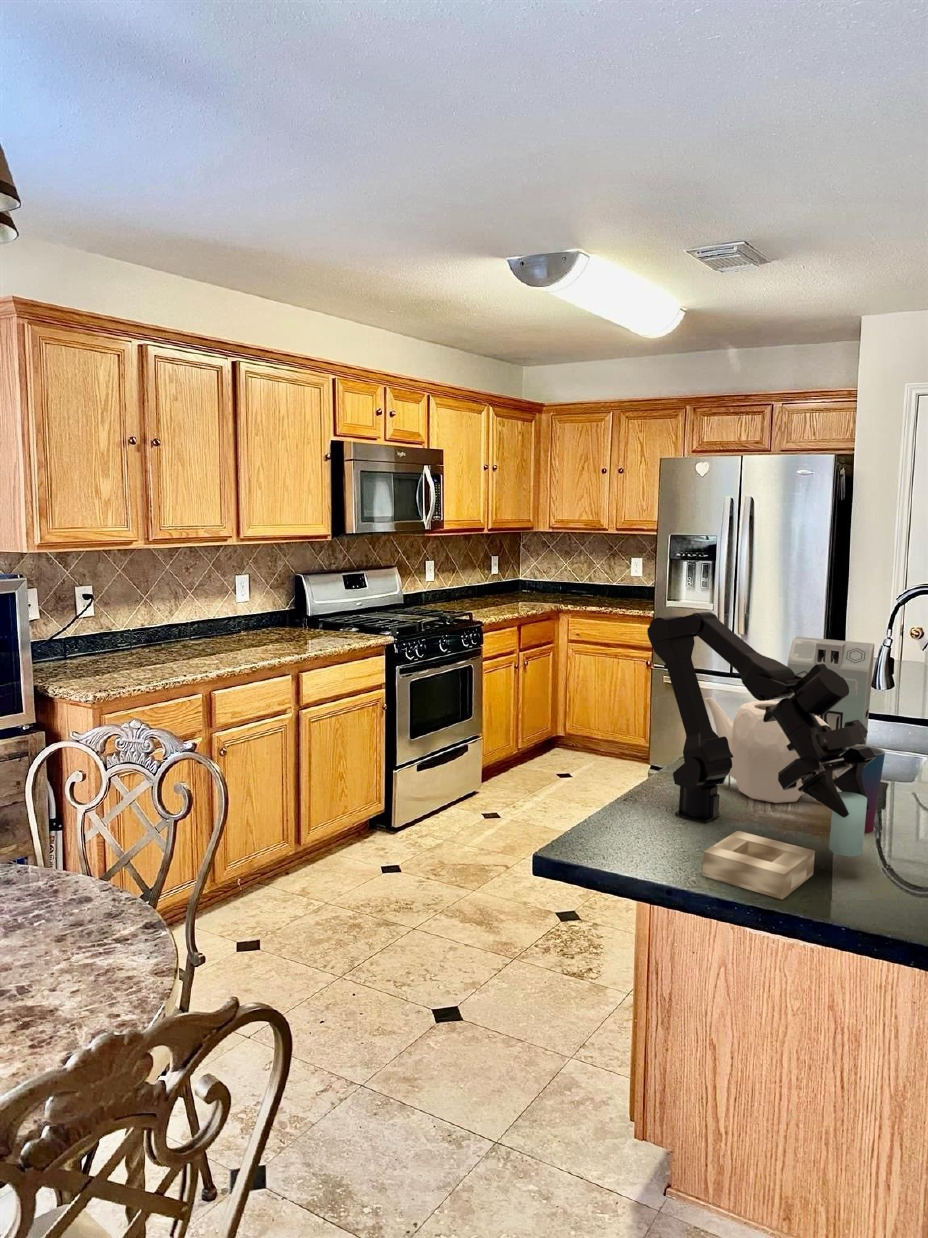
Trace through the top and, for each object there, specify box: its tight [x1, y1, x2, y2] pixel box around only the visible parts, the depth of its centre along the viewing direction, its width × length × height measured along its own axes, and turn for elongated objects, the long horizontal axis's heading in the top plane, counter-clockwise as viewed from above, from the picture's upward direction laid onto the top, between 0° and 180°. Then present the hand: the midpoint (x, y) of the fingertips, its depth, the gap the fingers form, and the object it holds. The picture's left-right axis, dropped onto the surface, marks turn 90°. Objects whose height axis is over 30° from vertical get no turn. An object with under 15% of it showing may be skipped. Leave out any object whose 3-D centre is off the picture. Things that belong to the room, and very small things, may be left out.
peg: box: [828, 791, 867, 857], centre depth 147 cm, size 5×5×9 cm
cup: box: [845, 744, 886, 834], centre depth 169 cm, size 7×7×15 cm
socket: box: [701, 830, 816, 901], centre depth 146 cm, size 13×13×4 cm
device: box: [786, 636, 875, 781], centre depth 201 cm, size 16×8×30 cm, turn 60°
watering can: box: [704, 697, 832, 804], centre depth 187 cm, size 16×27×19 cm, turn 59°
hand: (856, 813), depth 145 cm, fingers closed on peg, 5 cm apart
